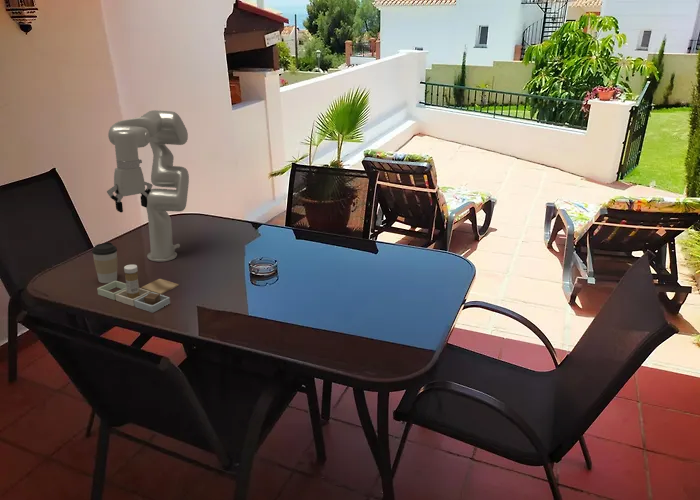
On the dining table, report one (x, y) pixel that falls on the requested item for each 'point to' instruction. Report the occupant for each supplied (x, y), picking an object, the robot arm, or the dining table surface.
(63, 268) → the dining table surface
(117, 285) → the tray sage
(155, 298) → the walnut cube
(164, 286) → the coaster
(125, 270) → the sprinkles bottle
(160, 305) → the tray blue
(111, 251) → the coffee cup
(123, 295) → the tray cream
